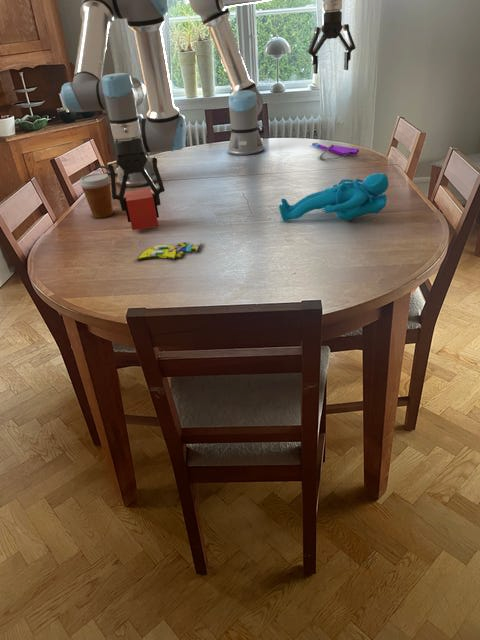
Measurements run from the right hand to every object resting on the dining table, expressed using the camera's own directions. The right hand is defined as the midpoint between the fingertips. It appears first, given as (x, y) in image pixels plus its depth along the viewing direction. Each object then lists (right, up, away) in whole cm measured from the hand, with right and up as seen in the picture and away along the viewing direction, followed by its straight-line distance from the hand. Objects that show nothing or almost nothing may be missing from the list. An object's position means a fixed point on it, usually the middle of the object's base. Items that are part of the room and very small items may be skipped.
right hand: (330, 71), depth 200 cm
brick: (-66, -75, -57) cm, 115 cm away
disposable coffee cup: (-82, -70, -45) cm, 117 cm away
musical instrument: (-1, -36, -4) cm, 36 cm away
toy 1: (-56, -86, -73) cm, 126 cm away
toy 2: (-12, -75, -62) cm, 98 cm away
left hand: (-67, -74, -58) cm, 115 cm away
